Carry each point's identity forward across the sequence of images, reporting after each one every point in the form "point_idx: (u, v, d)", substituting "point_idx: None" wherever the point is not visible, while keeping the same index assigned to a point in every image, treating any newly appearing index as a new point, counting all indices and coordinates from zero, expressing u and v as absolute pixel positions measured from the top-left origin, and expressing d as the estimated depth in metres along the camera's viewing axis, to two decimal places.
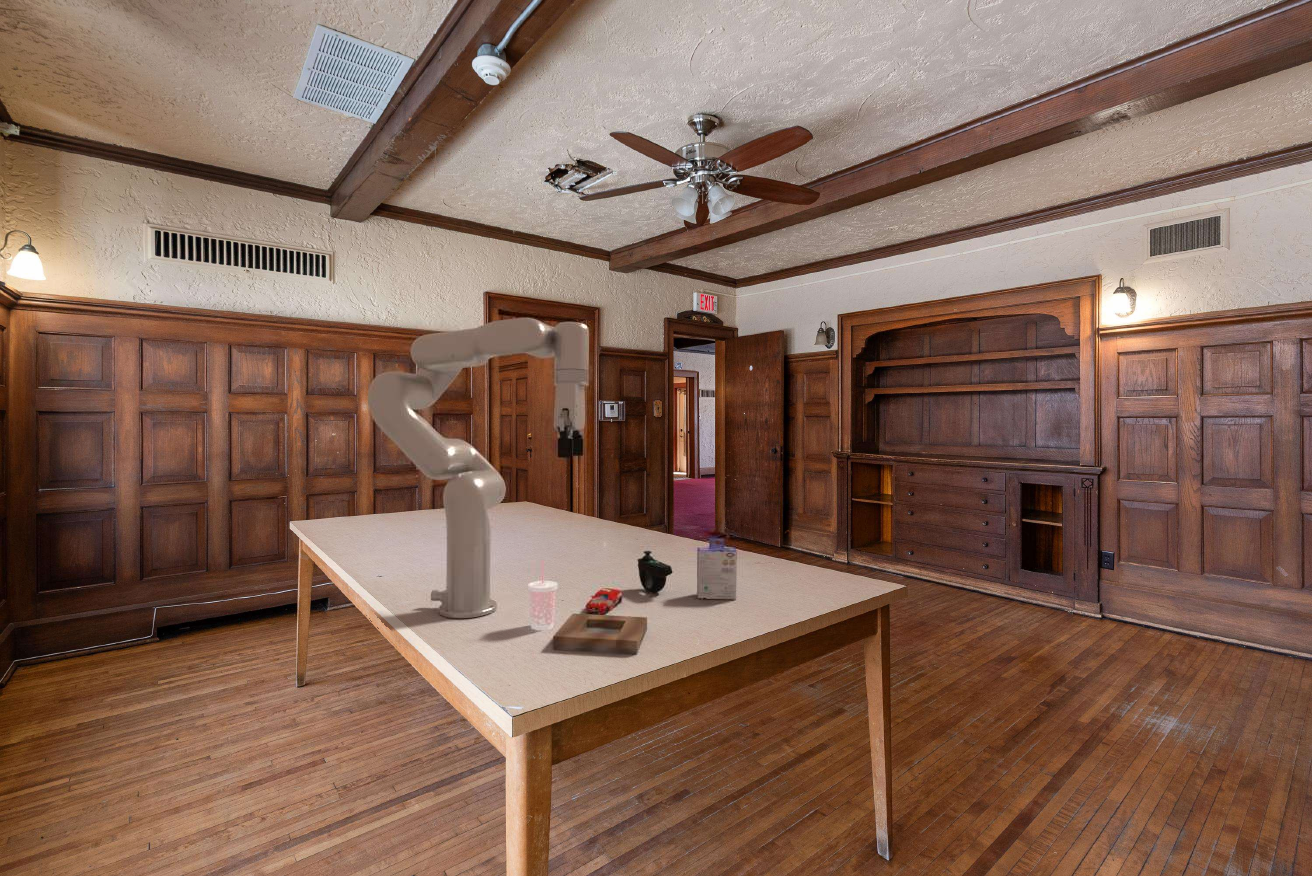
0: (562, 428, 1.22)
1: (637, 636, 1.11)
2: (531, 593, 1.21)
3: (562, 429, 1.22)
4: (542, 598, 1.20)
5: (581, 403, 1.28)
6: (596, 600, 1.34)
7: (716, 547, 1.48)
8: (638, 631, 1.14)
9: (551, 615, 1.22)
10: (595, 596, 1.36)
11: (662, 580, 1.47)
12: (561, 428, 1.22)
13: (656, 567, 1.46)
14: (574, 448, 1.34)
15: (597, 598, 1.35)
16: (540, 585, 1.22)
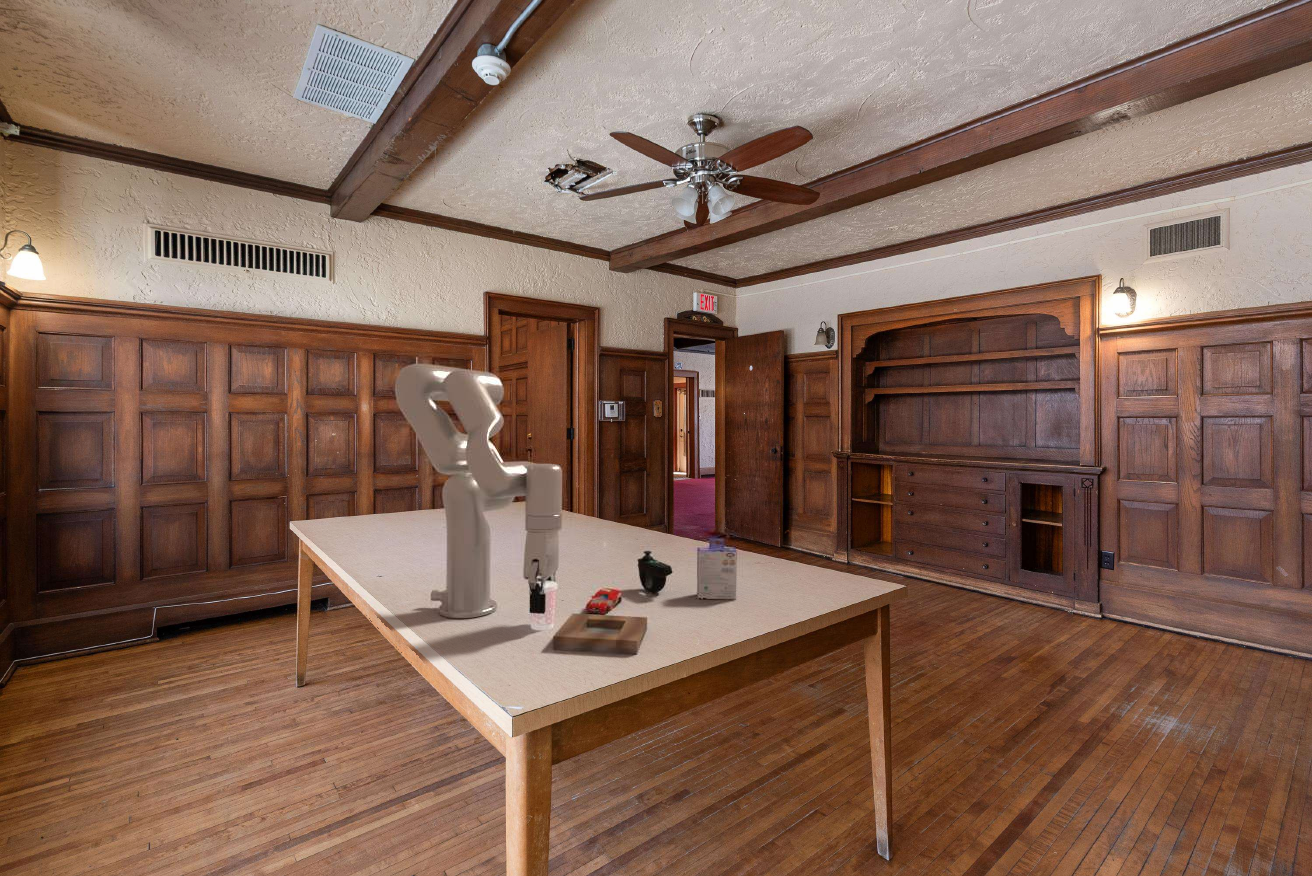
0: (533, 586, 1.17)
1: (637, 636, 1.11)
2: None
3: (533, 588, 1.17)
4: None
5: (553, 549, 1.22)
6: (596, 600, 1.34)
7: (716, 547, 1.48)
8: (638, 631, 1.14)
9: (551, 615, 1.22)
10: (595, 596, 1.36)
11: (662, 580, 1.47)
12: (532, 587, 1.17)
13: (656, 567, 1.46)
14: None
15: (597, 598, 1.35)
16: (540, 585, 1.22)
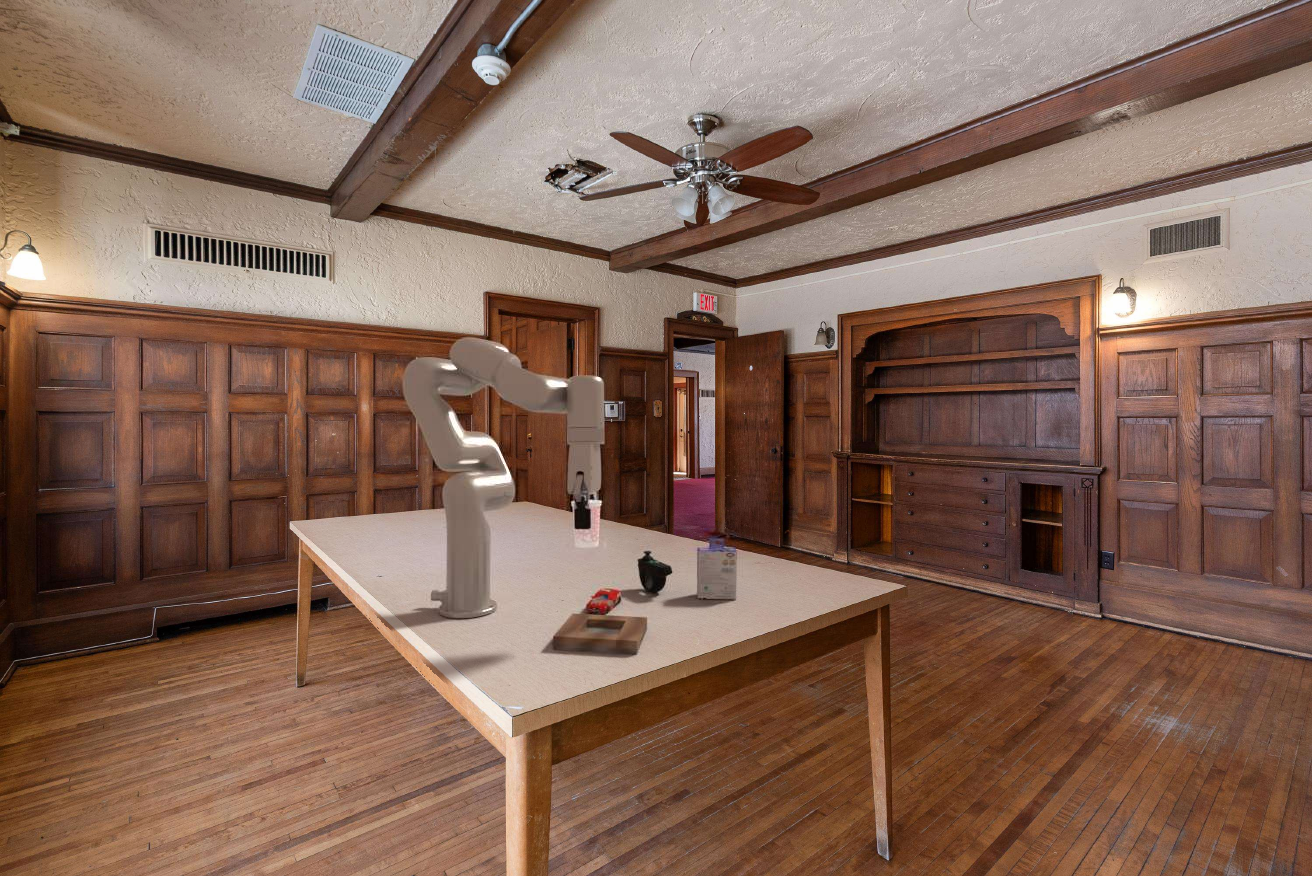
0: (579, 499, 1.12)
1: (637, 636, 1.11)
2: None
3: (579, 501, 1.12)
4: None
5: (597, 464, 1.17)
6: (596, 601, 1.34)
7: (716, 547, 1.48)
8: (638, 631, 1.14)
9: (596, 532, 1.17)
10: (595, 596, 1.36)
11: (662, 580, 1.47)
12: (578, 500, 1.12)
13: (656, 567, 1.46)
14: None
15: (597, 598, 1.35)
16: None
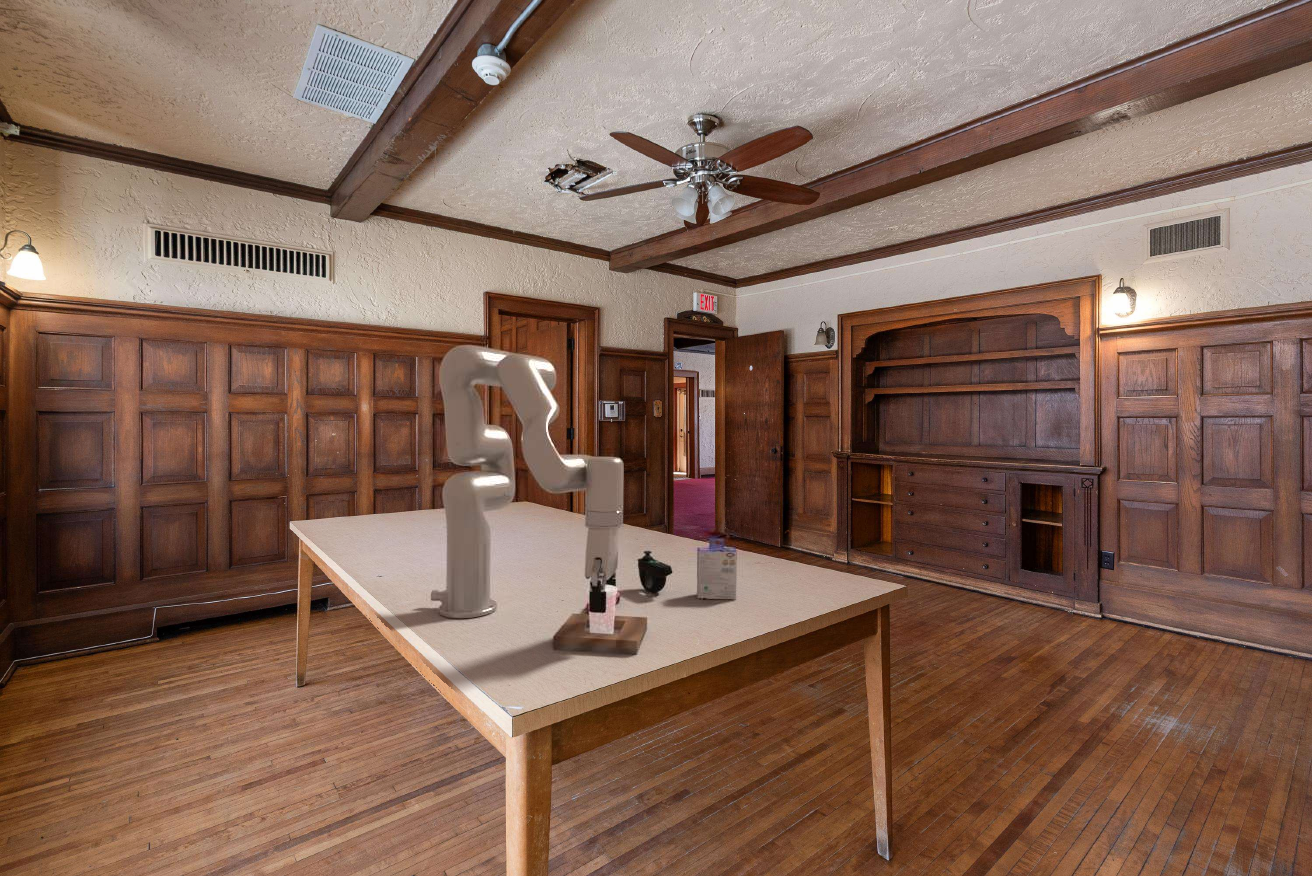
0: (595, 583, 1.09)
1: (637, 636, 1.11)
2: None
3: (595, 584, 1.09)
4: None
5: (615, 547, 1.15)
6: None
7: (716, 547, 1.48)
8: (638, 631, 1.14)
9: (612, 621, 1.15)
10: None
11: (662, 580, 1.47)
12: (594, 583, 1.09)
13: (656, 567, 1.46)
14: None
15: None
16: None
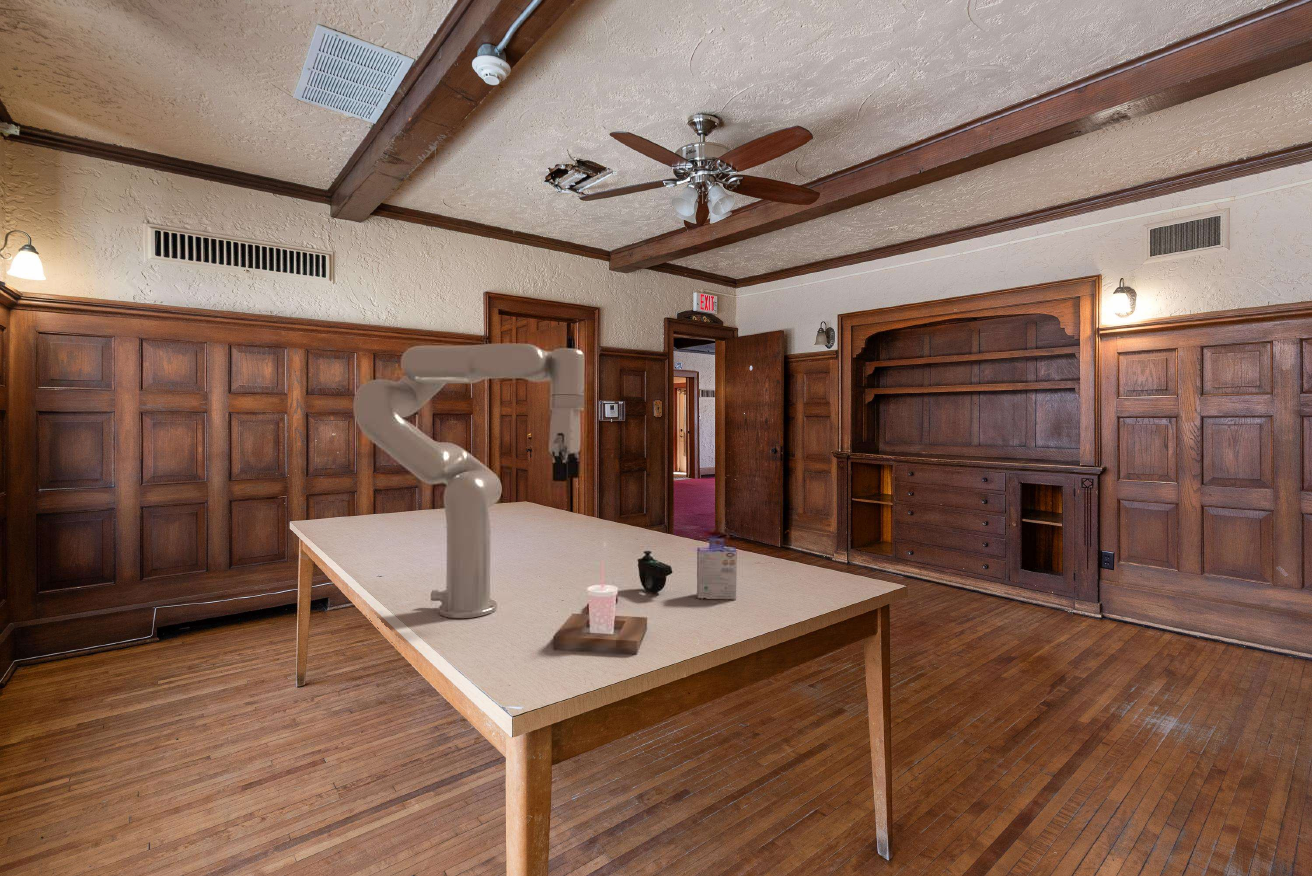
0: (557, 453, 1.25)
1: (637, 636, 1.11)
2: (591, 598, 1.15)
3: (557, 454, 1.25)
4: (603, 603, 1.14)
5: (576, 427, 1.31)
6: None
7: (716, 547, 1.48)
8: (638, 631, 1.14)
9: (612, 621, 1.15)
10: None
11: (662, 580, 1.47)
12: (556, 453, 1.25)
13: (656, 567, 1.46)
14: (570, 470, 1.37)
15: None
16: (600, 589, 1.15)
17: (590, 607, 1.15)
